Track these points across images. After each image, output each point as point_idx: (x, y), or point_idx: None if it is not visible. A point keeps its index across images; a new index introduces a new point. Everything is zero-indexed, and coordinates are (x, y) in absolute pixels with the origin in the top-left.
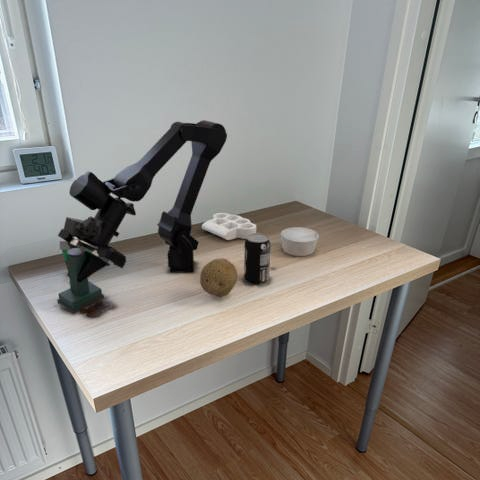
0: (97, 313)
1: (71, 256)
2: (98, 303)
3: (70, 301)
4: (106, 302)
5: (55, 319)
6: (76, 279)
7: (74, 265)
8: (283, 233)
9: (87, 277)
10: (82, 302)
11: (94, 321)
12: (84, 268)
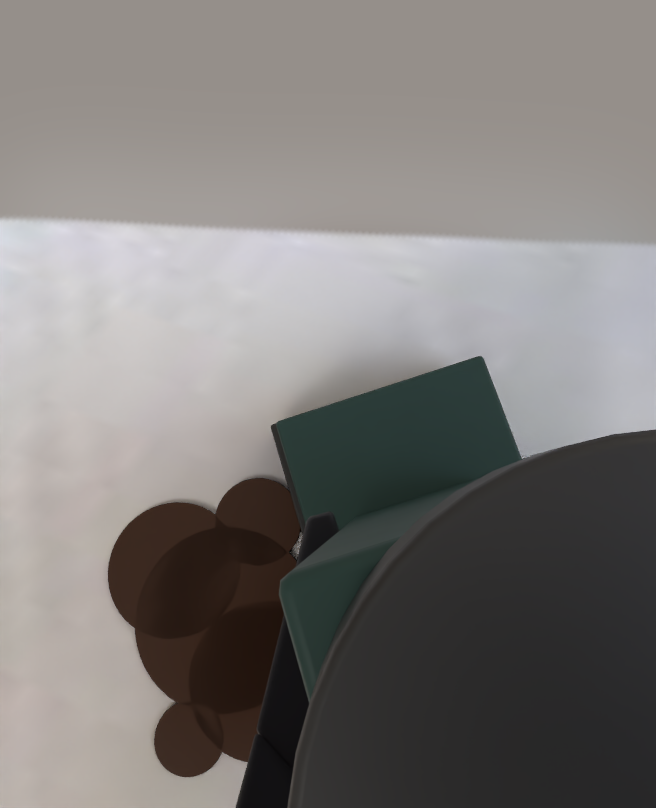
0: (151, 592)
1: (434, 517)
2: None
3: (302, 414)
4: None
5: (275, 293)
6: (327, 517)
7: (345, 538)
8: None
9: None
10: None
11: (57, 523)
12: (259, 732)
